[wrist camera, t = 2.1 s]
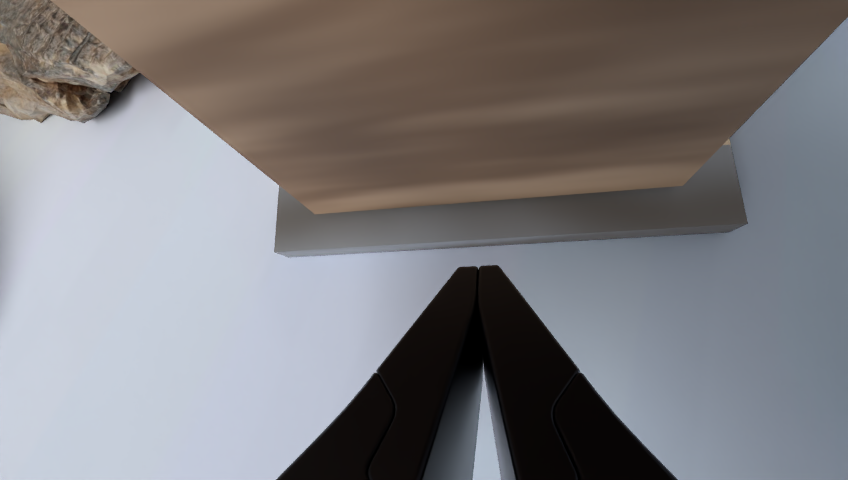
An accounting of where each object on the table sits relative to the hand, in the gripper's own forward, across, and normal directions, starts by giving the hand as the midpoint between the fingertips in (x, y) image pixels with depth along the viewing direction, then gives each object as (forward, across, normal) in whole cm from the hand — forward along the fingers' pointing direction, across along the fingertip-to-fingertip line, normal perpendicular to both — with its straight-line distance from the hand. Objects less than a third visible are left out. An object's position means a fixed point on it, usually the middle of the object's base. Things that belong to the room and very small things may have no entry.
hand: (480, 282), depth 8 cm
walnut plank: (+8, 0, +1) cm, 8 cm away
